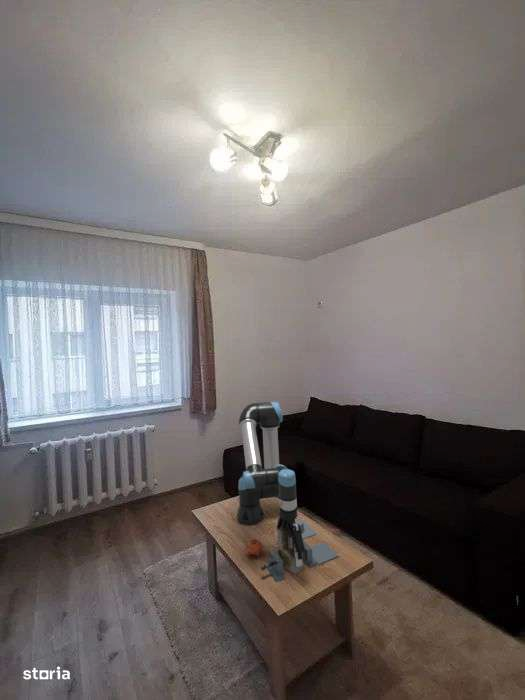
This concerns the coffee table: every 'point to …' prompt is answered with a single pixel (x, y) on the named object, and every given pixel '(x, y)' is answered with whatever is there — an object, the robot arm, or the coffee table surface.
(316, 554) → the pad
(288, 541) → the coffee box
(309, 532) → the shower valve
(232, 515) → the coffee table surface
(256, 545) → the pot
